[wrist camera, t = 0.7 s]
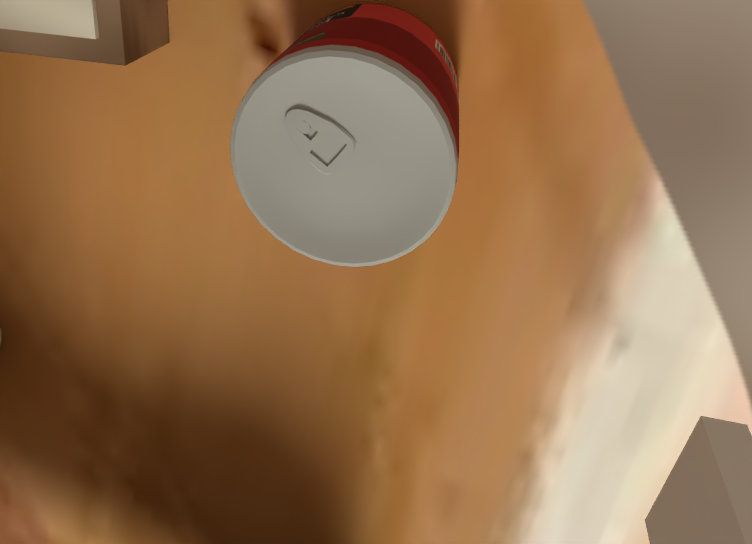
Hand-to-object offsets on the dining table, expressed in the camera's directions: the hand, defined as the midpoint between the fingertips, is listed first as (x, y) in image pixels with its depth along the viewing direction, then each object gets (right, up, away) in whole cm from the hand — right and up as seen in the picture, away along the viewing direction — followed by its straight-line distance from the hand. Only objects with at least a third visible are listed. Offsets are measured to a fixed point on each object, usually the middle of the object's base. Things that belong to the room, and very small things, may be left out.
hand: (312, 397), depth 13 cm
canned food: (+1, +11, +21) cm, 24 cm away
